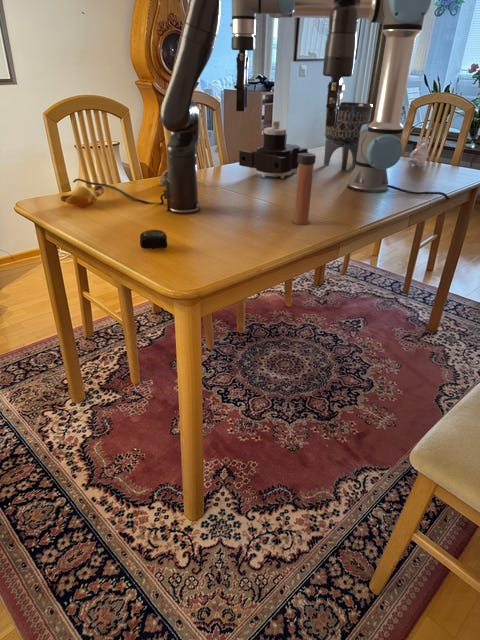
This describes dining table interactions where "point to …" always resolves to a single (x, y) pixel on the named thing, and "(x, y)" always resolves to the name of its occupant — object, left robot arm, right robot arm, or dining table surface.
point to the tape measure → (153, 239)
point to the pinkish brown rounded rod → (303, 193)
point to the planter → (346, 131)
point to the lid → (306, 158)
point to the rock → (164, 177)
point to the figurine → (419, 153)
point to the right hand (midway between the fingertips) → (241, 109)
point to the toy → (83, 196)
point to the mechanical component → (273, 154)
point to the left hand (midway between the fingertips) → (331, 124)
